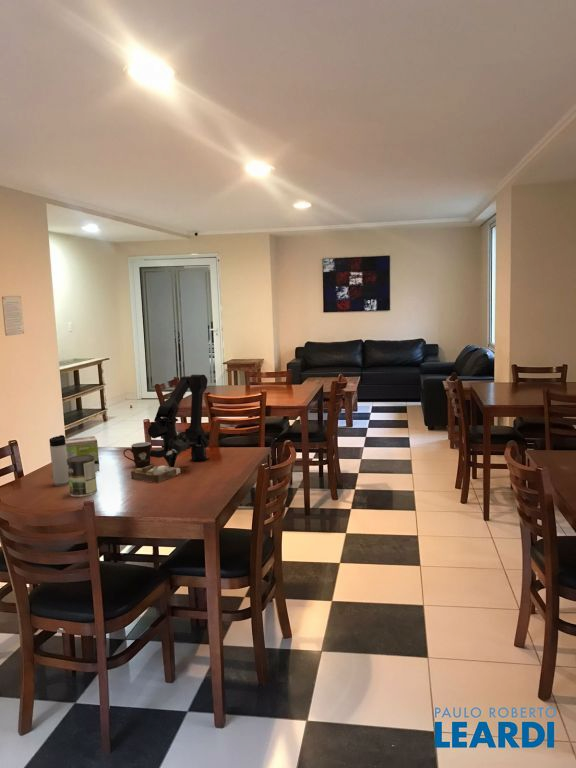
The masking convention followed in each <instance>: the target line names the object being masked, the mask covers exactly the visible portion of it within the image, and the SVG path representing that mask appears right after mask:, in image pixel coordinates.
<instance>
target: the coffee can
mask: <svg viewBox="0 0 576 768" xmlns="http://www.w3.org/2000/svg"><path fill="white" fill-rule="evenodd" d="M67 466H68V475H69V484H68V485H69V494H70V496H71V497H74V498H76V497H77V498H81V497H82V498H83V497H88V496H92V495H94V494H96V493H98V487H97V477H96V475H97V474H96V472H95V463H94V456H93V455H79V456H74V457H70V458H68V459H67Z"/></svg>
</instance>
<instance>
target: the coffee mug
mask: <svg viewBox="0 0 576 768" xmlns="http://www.w3.org/2000/svg"><path fill="white" fill-rule="evenodd" d="M130 446H131V448H125V449H124V450H123V453H122V454H123V456H124V457H125V458H126V459H128V460H130V461H133V463H134V464H135V465H134V466H135V468H136V467H137V468H140V469H141V468H144V467H147V466H150V465H151V457H150V452H151V450H152V449H151V446H152V443H151V442H145V441H141V442H136V443H132V444H131V445H130ZM127 451H131V454H132V456H133V458H130V457H129V456H127V455H126V454H125V453H126V452H127ZM137 468H136V469H137Z"/></svg>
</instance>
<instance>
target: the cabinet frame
mask: <svg viewBox="0 0 576 768" xmlns="http://www.w3.org/2000/svg"><path fill="white" fill-rule="evenodd" d="M153 467H154V465H152V464H150V466H147V467H144V468H135V469H134V470H131V471H130V475H131V479H132V478H134V479H133V480H137V479H139V480H138V481H143V480H144V481H143V482H148V481H152V482H151V483H154V482H159V481H161V482H163V481H162V480H164V479H167V478H170V479H172V478H171V477H173V478H175V477H177V475H178V474H176V469H172V470H169V471H166V472H163V473H160V474H157V475H155V474H154V471H152V470H150V469H153ZM174 476H175V477H174ZM167 480H168V479H167ZM164 481H165V480H164ZM159 483H160V482H159Z"/></svg>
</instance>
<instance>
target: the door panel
mask: <svg viewBox="0 0 576 768" xmlns="http://www.w3.org/2000/svg"><path fill="white" fill-rule="evenodd" d="M172 469H176V474H177V475H179V474H178V473H180V474H181V468H179V467H175V466H174V467H169V465H159V466H153V469H150V470H152V471H154V474H156V475H157V474H160V473H163V472H166V471H169V470H172Z"/></svg>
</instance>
